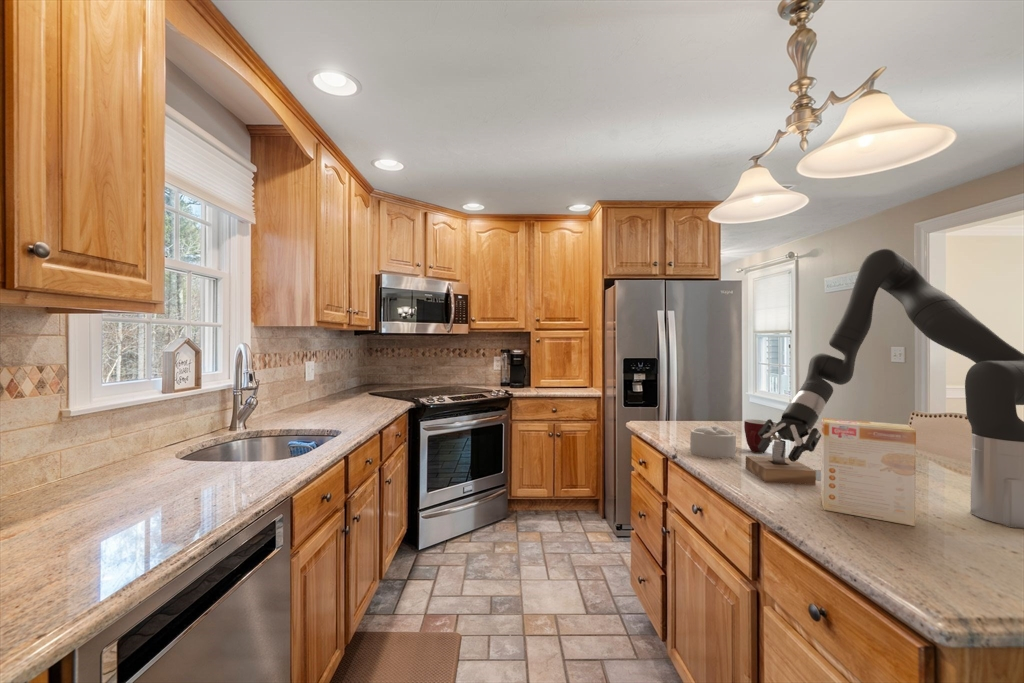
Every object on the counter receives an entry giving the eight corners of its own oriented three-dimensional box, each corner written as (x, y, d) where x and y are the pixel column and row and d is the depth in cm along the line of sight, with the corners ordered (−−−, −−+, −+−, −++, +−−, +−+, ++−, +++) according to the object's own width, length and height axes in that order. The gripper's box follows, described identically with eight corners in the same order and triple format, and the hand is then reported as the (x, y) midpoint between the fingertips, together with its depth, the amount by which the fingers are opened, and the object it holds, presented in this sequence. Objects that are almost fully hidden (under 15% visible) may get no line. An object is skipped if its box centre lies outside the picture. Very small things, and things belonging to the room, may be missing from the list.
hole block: (815, 486, 106) (815, 470, 106) (765, 483, 107) (765, 468, 107) (790, 471, 117) (790, 457, 117) (745, 469, 119) (745, 455, 119)
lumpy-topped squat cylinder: (696, 447, 144) (697, 422, 144) (738, 454, 136) (739, 428, 136) (687, 453, 136) (688, 427, 136) (731, 461, 128) (732, 433, 128)
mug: (768, 457, 132) (769, 426, 132) (740, 453, 137) (740, 423, 137) (773, 451, 140) (773, 421, 140) (746, 447, 145) (746, 418, 145)
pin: (787, 479, 111) (787, 442, 111) (775, 479, 111) (775, 441, 111) (781, 476, 114) (782, 439, 114) (770, 475, 114) (770, 439, 114)
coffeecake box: (906, 515, 89) (907, 424, 89) (916, 527, 83) (917, 429, 83) (819, 500, 97) (820, 416, 97) (822, 510, 91) (824, 421, 91)
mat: (844, 483, 108) (844, 481, 108) (810, 481, 109) (810, 479, 109) (820, 471, 118) (820, 469, 118) (790, 469, 119) (790, 468, 119)
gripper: (772, 398, 122) (744, 440, 117) (825, 405, 108) (795, 453, 104) (784, 415, 124) (757, 457, 119) (837, 424, 111) (809, 472, 106)
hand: (775, 455), depth 112 cm, fingers open, 8 cm apart
